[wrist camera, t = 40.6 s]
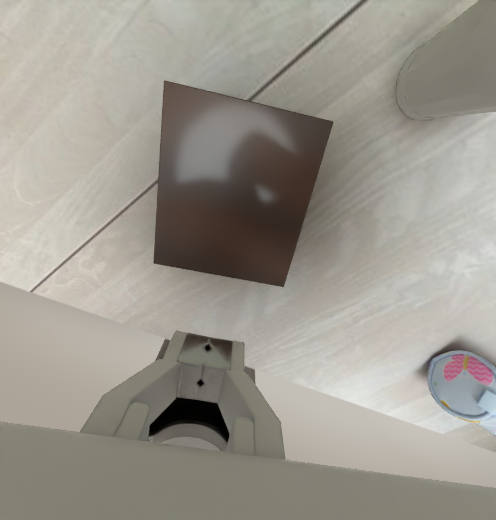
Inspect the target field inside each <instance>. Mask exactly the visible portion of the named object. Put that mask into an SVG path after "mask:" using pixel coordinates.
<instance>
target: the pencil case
mask: <svg viewBox="0 0 496 520" xmlns="http://www.w3.org/2000/svg"><path fill="white" fill-rule="evenodd" d="M428 386H429V390H430V392H431V395H432V396H433V398H434V399H435V401H436V402H437V403H438V404H439V405H440V406H441V407H442V408H443V409H444V410H445V411H446V412H448V413H450V414H451V415H453V416H455V417H457V418H460V419H462V420H466V421H469V422H473V423H475V424H477V425H479V426H481V427H483V428H484V429H486V430H487V431H489V432H490V433H492V434H493V435H495V436H496V367H495V366H494V365H492V364H491V363H490V362H489V361H487V360H486V359H485V358H483V357H481V356H479V355H477V354H475V353H472V352H468V351H461V350H456V351H450V352H446V353H443V354H440V355H438V356H436V357H434V358H433V359H432V360H431V363H430V366H429V371H428Z"/></svg>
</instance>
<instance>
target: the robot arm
mask: <svg viewBox="0 0 496 520" xmlns="http://www.w3.org/2000/svg"><path fill="white" fill-rule="evenodd" d="M244 345H245V344H244V342H238V341H230V340H224V339H218V338H212V337H206V336H201V335H196V334H191V333H185V332H180V331H175V333H174V334H173V337H172V339H171V341H170V343H169V346H168V348H167V350H166V353H165V355H164V357H163V359H158V360H156V361H155V362H153V363H152V364H150V365H149V366H147V367H146V368H144V369H143V370H141V371H140V372H138V373H137V374H135V375H134V376H132V377H130V378H129V379H127V380H126V381H124V382H123V383H122V384H120V385H118V386H117V387H115V388H114V389H112V390H111V391H109V392H108V393H106V394H105V395H103V396H102V398H101V399H100V401H99V403H98V404H97V406H96V407H95V409H94V410H93V412H92V413H91V415H90V417H89V418H88V420H87V421H86V423H85V425H84V426H83V428H82V429H81V431H80V432H73V431H66V430H58V429H50V428H43V427H35V426H28V425H21V424H13V423H6V422H0V520H496V488H492V487H484V486H477V485H469V484H462V483H454V482H446V481H439V480H432V479H424V478H416V477H409V476H402V475H394V474H387V473H380V472H372V471H365V470H357V469H350V468H342V467H335V466H327V465H320V464H313V463H305V462H297V461H290V460H285V454H284V445H283V437H282V429H281V422H280V421H279V419H278V418H277V416H276V415H275V413H274V412H273V410H272V409H271V407H270V406H269V404H268V403H267V401H266V400H265V398H264V397H263V395H262V394H261V392H260V391H259V390H258V388H257V387H256V385H255V384H254V382H253V381H252V379H251V378H250V376H249V375H248V373H244ZM176 397H180V398H188V399H198V400H202V401H208V402H213V403H218V406H219V408H220V411H221V413H222V416H223V418H224V421H225V423H226V426H227V428H228V431H229V433H230V437H229V440H228V439H227V438H226V437H225V435H224V434H223V433H222V432H221V431H220V430H219V429H218V428H216V427H215V426H213V425H211V424H208V423H206V422H202V421H197V420H178V421H174V422H171V423H168V424H166V425H164V426H163V427H161V428H160V429H159V430H157V431H153V432H150V433H149V425H150V424H151V423H152V422H153V421H154V420H155V419H156V418H157V417H158V416H159V415H160V414H161V413H162V412H163V411H164V410H165V409H166V408H167V407H168V406H169V405H170V404H171V403H172V402H173V401H174V400H175V399H176Z"/></svg>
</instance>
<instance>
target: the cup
mask: <svg viewBox="0 0 496 520" xmlns="http://www.w3.org/2000/svg"><path fill="white" fill-rule="evenodd" d="M396 97H397V102H398V105H399V107H400V109H401V110H402V112H403V113H404V114H405V115H406V116H408V117H409V118H411V119H414V120H429V119H433V118H440V117H449V116H458V115H467V114H477V113H486V112H495V111H496V0H479V1H478V2H476V3H475V4H474V5H473V6H471V7H470V8H469V9H468V10H466V11H465V12H464V13H463V14H461V15H460V16H459V17H458V18H456V19H455V20H454V21H453V22H451V23H450V24H449V25H448V26H446V27H445V28H444V29H443V30H441V31H440V32H439V33H438V34H436V35H435V36H434V37H432V38H431V39H430V40H428V41H427V42H425V43H424V44H422V45H421V46H419V47H418V48H417V49H416V50H415V51H414V52H413V53H412V54H411V55H410V56H409V57H408V59H407V60H406V61H405V63H404V65H403V67H402V69H401V71H400V73H399V76H398V80H397V85H396Z"/></svg>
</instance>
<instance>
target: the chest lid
mask: <svg viewBox="0 0 496 520" xmlns="http://www.w3.org/2000/svg"><path fill="white" fill-rule="evenodd" d="M332 125H333V122H332V121H328V120H324V119H320V118H316V117H312V116H308V115H304V114H300V113H296V112H291V111H287V110H283V109H279V108H275V107H271V106H267V105H263V104H259V103H255V102H251V101H246V100H242V99H238V98H234V97H230V96H226V95H222V94H218V93H214V92H210V91H206V90H201V89H197V88H193V87H189V86H185V85H181V84H177V83H173V82H169V81H164V91H163V109H162V126H161V143H160V161H159V178H158V195H157V213H156V230H155V247H154V263H155V264H160V265H166V266H171V267H176V268H182V269H187V270H193V271H198V272H204V273H209V274H215V275H220V276H226V277H231V278H237V279H242V280H248V281H253V282H259V283H264V284H270V285H275V286H281V287H284V284H285V281H286V278H287V274H288V271H289V268H290V264H291V261H292V258H293V254H294V251H295V248H296V244H297V241H298V238H299V234H300V231H301V228H302V224H303V221H304V218H305V214H306V211H307V208H308V205H309V201H310V198H311V195H312V191H313V188H314V185H315V181H316V178H317V175H318V171H319V168H320V165H321V161H322V158H323V155H324V151H325V148H326V145H327V141H328V138H329V135H330V131H331V128H332Z"/></svg>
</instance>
